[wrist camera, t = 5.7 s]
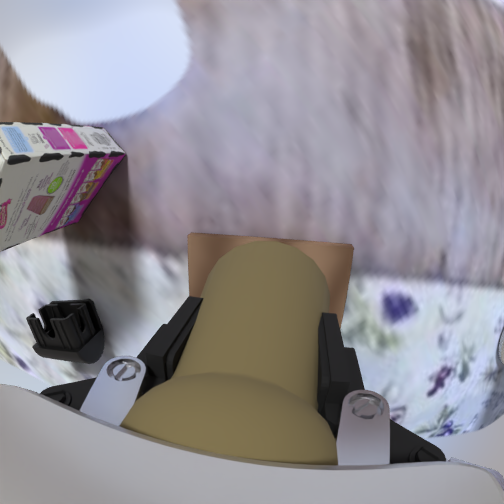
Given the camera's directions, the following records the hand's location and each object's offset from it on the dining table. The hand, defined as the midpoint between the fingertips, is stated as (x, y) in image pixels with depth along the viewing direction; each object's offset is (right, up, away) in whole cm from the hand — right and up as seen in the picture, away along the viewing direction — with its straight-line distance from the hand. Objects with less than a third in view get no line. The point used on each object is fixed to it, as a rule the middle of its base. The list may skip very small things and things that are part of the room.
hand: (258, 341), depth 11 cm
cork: (0, +1, +3) cm, 3 cm away
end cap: (-25, -7, +26) cm, 36 cm away
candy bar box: (-19, +12, +19) cm, 30 cm away
